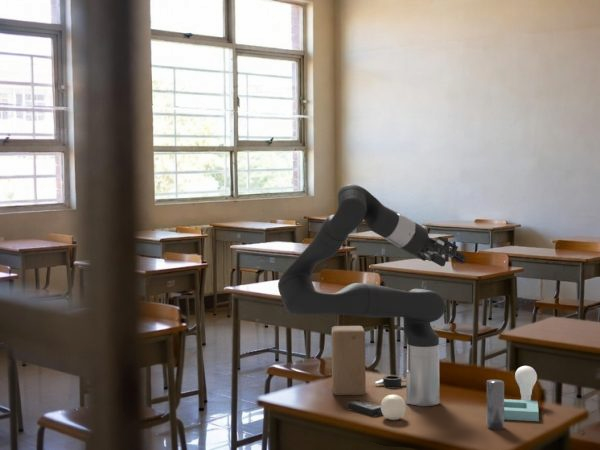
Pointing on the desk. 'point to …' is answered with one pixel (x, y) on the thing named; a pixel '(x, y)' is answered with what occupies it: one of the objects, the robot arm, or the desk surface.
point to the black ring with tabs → (390, 381)
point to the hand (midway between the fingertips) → (454, 261)
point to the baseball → (393, 407)
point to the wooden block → (348, 360)
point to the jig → (521, 410)
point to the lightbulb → (526, 381)
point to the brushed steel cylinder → (495, 404)
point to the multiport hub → (365, 407)
